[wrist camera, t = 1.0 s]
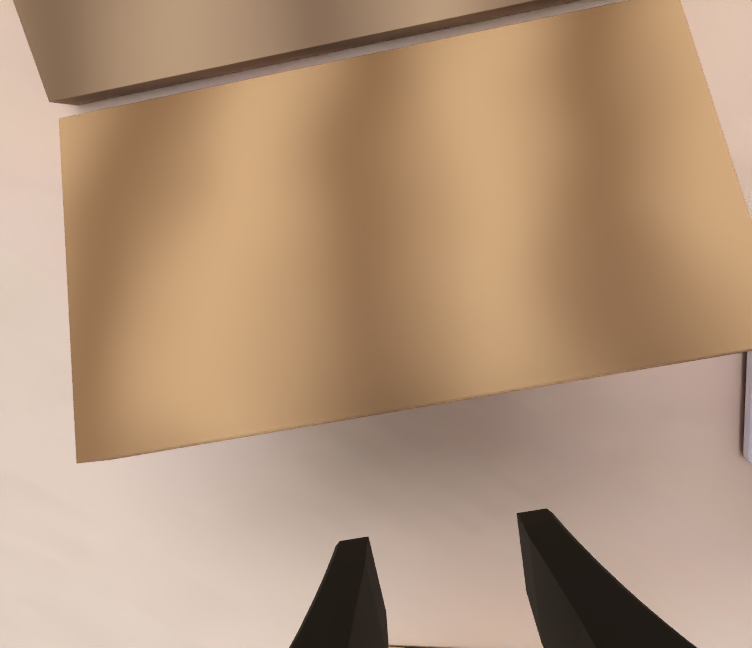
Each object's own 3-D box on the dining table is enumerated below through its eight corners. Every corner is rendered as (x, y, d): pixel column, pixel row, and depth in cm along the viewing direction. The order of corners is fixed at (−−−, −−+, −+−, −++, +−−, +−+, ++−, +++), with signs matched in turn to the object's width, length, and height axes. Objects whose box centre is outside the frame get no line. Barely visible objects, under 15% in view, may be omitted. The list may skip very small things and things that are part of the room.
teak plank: (654, 29, 16) (676, -10, 15) (753, 350, 14) (790, 342, 13) (90, 144, 17) (59, 118, 16) (110, 459, 15) (76, 463, 14)
